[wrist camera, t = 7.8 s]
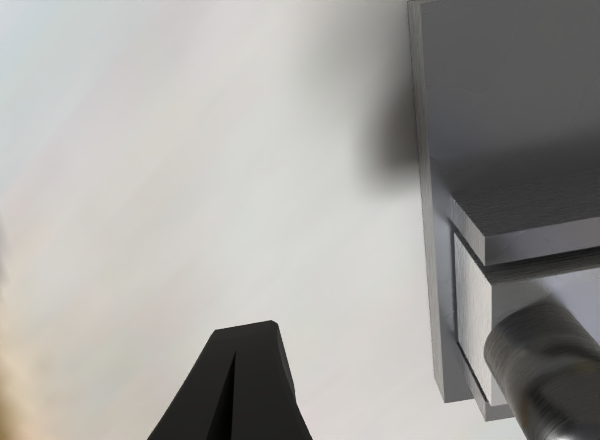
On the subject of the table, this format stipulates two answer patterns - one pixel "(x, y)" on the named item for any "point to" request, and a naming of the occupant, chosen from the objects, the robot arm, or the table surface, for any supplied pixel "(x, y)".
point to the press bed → (502, 146)
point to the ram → (535, 337)
